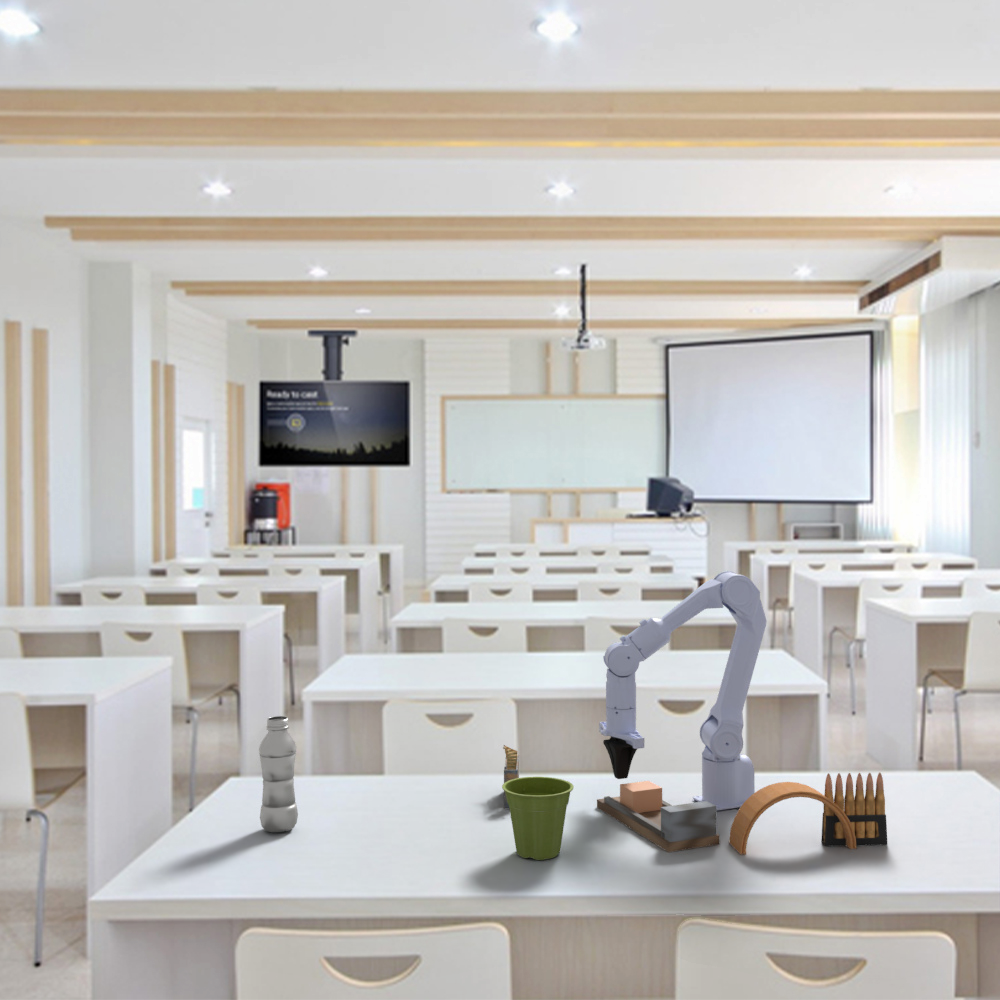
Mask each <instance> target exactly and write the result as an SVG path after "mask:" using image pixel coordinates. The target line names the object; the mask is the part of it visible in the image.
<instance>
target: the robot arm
mask: <svg viewBox="0 0 1000 1000" xmlns="http://www.w3.org/2000/svg"><path fill="white" fill-rule="evenodd" d="M724 607H725V608H726V609H727V610H728V612H729V613H730V615H731V616H732V617H733V619H734V621H735V622H736V625H737V626H736V629H735V633H734V636H733V638H732V643H731V647H730V652H729V654H728V657H727V662H726V665H725V669H724V672H723V675H722V680H721V682H720V686H719V687H720V688H719V691H718V695H717V697H716V698H717V699H716V702H715V703H714V705H713V706H712V707H711V709H710V711H709V714H708V717H707V718H706V719H705V720H704V721H703V722H702V724H701V726H700V729H699V738H700V740H701V743H703V744H704V745H705V747H704V748H703V750H702V752H701V786H702V787H701V793H702V795H696V796H693V797H692V800H693V801H695V802H702V801H708V802H710V803H712V804H714V805H716V812H717V811H723V810H730V809H736V808H737V809H738V808H740V807H741V806H742V805H743V803H744V802H745V801H746V800H747V799H748V798H749V797H750V796H751V795H752V794H754V793H755V792H756V791H755V768H754V764H753V762H752V760H751V758H750V757H749V756H748V755H746V754H744V753H743V754H741V753H742V751H743V748H744V740H743V739H744V738H743V729H744V718H743V717H744V716H743V710H744V707H745V703H746V699H747V696H748V693H749V688H750V686H751V680H752V678H753V674H754V672H755V671H754V670H755V667H756V663H757V660H758V656H759V653H760V649H761V645H762V641H763V637H764V634H765V631H766V626H767V618H766V614H765V611H764V606H763V604H762V600H761V590H759V588H758V587H757V586H756V584H755V583H754V582H753V580H751V578H749V577H748V576H746V575H743V574H737V573H736V572H733V571H729V570H727V571H726V570H724V571H721V572H720V573H718V574H717V575H715V576H714V578H710V579H708V580H707V581H705V582H703V584H701V585H700V586H699V587H697V588H696V589H695V590H694V591H693V592H692V593H690V594H688V596H687V597H685V598H684V599H683V600H682V601H680V602H679V603H678V604H677V605H676V606H674V607H673V608H672V609H671V610H669V611H668V612H667V613H665V614H664V615H663V616H662V617H660V618H656V617H650V618H648V619H645V618H643V619H642V620H640V621H639V624H640V625H639V626H638V627H637V628H635V629H634V630H632V631H631V632H630V633H628V634H627V635H621V636H620V637H619V640H620V641H618V642H614V643H612V644H610V645H608V647H606V650H605V653H604V655H603V662H604V664H605V666H606V667H607V668H606V674H605V675H606V677H605V678H606V681H605V721H599V725H598V726H599V727H598V732H599V733H600V735H602V736H604V737H608V736H609V739H608V738H607V739H603V740H602V741H603V743H602V744H603V745H604V747H605V749H606V751H607V753H608V756H609V759H610V763H611V767H612V772H613V775H614V778H615V779H617V780H622V779H628V777H629V772H630V769H631V766H632V765H631V764H632V761H633V759H634V756H635V755H636V752H637V750H639V749H645V737H643V736H642V735H641V734H640V732H639V731H638V729H637V682H636V672H637V670H638V669H639V666H640V663H641V662H644V661H646V660H648V658H650V657H651V656H653V655H654V654H656V652H658V651H659V650H660V649H662V648H663V647H664V646H666V645H667V644H668V643H670V639H671V636H672V635H671V634H672V633H673V632H674V631H675V630H677V629H678V628H679V627H682V626H683V625H684V624H685V623H686V622H688V621H690V620H691V619H693V618H694V617H695V616H697V615H699V614H700V613H701V612H703V611H704V610H706V609H707V610H709V609H723V608H724Z"/></svg>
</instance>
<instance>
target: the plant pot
mask: <svg viewBox="0 0 1000 1000" xmlns="http://www.w3.org/2000/svg"><path fill="white" fill-rule="evenodd" d="M574 786H575V785H574V784H573V783H572V782H570V781H569V780H565V779H562V778H558V777H557V778H556V777H550V776H522V777H519V778H516V779H512V780H509V781H507V782H505V783H504V782H503V783H502V786H501V788H502V790H503V792H504V791H505V792H506V797H507V803H508V804H509V808H508V809H509V813H510V814H509V815H510V818H511V821H510V822H511V826H512V831H513V839H514V844H515V850H516V854H517V855H518V856H519V857H521V858H524V859H528V858H532V859H534V860H535V861H536V860H538V861H544V860H547V859H548V860H550V859H554V858H555V857H557V856H558V854H560V853H561V847H562V841H563V834H564V828H565V827H564V826H565V820H566V814H567V807H568V805H569V802H570V795H571V792H572V791H573V790H574Z"/></svg>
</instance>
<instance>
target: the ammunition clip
mask: <svg viewBox="0 0 1000 1000" xmlns="http://www.w3.org/2000/svg"><path fill="white" fill-rule="evenodd" d="M852 777H853V776H852V774H851V773H850V772H849V773H847V776H846V780H845V781H846V782H845V794H844V790H843V788H844V787H843V778H842V776H841V773H840V772H839V773H837V775H836V779H835V786H834V787H835V788H834V789H835V790H834V791H833V780H832V777H831V774H830V773H827V775H826V777H825V782H824V783H825V784H824V794H823V795H824V796H825V797H827V798H828V799H830V800H831V801H832V802H834V803H835V804H837V805H838V806H839V807H840V808H841V809H842V811H843V812H844V813H845V814H846V816H847V817H848V819H849V820H850V823H851V825H852V827H853V830H854V834H855V837H856V847H857V846H887V845H888V831H887V830H888V828H887V827H888V826H887V814H886V798H885V790H884V788H885V787H884V779H883V775H882V773H881V771H880V772H878V774H877V776H876V777H877V778H876V783H875V791H874V780H873V776H872V773H871V772H868V774H867V777H866V780H865V782H866V783H865V791H864V780H863V776H862V773H860V772H858V774H857V777H856V781H855V794H854V783H853V778H852ZM874 792H875V793H874ZM864 793H865V794H864ZM821 843H822V844H823V845H824V846H825V847H847V846H846V839H845V838H844V831H843V827H842V825H841V823H840V820H839V819H838V817H837V816H836V815H835V814H834V812H833V811H832V810H831V809H830V808H829V807H828V806H827V805H826V804H823V813H822V823H821Z"/></svg>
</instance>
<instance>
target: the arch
mask: <svg viewBox="0 0 1000 1000" xmlns="http://www.w3.org/2000/svg"><path fill="white" fill-rule="evenodd" d="M824 795H825V794H823V793H821V792H819V791H818V790H817V789H815V788H813V787H812V786H809V785H807V784H804V783H801V782H793V781H784V782H783V781H782V782H776V783H771V784H768V785H766V786H763V787H762V788H760V789H758V790H757V791H755V793H754V794H752V795H751V796H750V797H749V798H748V799H747V800H746V801H745V802H744V803H743V805H742V806H741V807H739V809H738V810H737V812H736V814H735V816H734V818H733V820H732V824H731V827H730V830H729V831H730V832H729V839H728V840H729V841H728V842H729V844H730V845H731V846H732V847H733V848H734V850H735V851H737V852H738V853H739V854H740V855H747V845H748V839H749V836H750V833H751V830H752V829H753V827H754V825H755V823H756V822H757V821H758V819H759V818H760V817H761V815H763V814H764V812H766V811H767V810H768V809H769V808H771V807H772V806H774V805H775V804H777V803H779V802H781V801H783V800H784V801H785V800H788V799H792V798H809V799H812V800H815V801H818V802H821V803H822V805H824V804H826V805H827V806H828V807H829V808H830V809H831V810H832V811H833V812H834V814H835V815H836V816H837V817H838V819H839V820H840V823H841V825H842V827H843V831H844V838H845V839H846V846H845V847H847V848H848V849H851V850H853V849H854V850H857V846H856V837H855V834H854V830H853V827H852V825H851V823H850V820H849V819H848V817H847V816H846V814H845V813H844V812H843V811H842V809H841V808H840V807H839V806H838V805H837V804H835V803H834V802H832V801H831V800H830V799H828V798H827V797H825V796H824Z"/></svg>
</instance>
